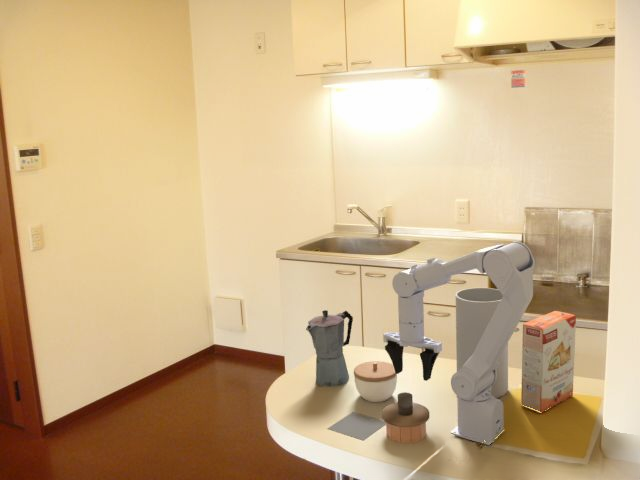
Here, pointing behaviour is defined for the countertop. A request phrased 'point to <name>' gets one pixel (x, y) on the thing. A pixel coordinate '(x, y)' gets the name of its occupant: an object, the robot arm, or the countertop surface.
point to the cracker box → (548, 360)
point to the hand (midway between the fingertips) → (412, 375)
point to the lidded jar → (375, 380)
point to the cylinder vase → (478, 329)
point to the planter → (406, 433)
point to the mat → (357, 425)
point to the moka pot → (330, 347)
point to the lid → (405, 412)
